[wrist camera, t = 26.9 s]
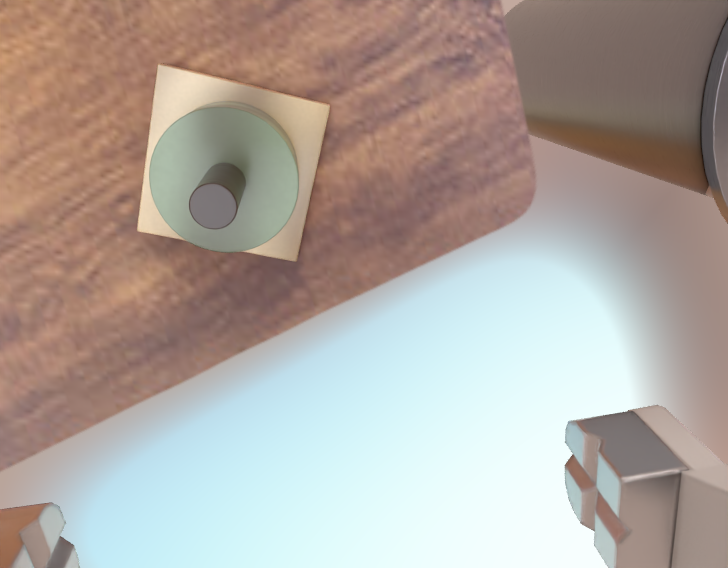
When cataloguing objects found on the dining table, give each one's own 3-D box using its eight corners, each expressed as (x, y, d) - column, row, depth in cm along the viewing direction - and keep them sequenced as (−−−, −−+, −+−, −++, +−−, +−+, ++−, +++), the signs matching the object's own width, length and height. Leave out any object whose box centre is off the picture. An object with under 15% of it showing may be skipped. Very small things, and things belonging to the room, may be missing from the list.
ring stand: (328, 103, 38) (343, 123, 27) (296, 255, 41) (298, 322, 31) (162, 63, 36) (111, 67, 26) (142, 224, 39) (89, 286, 29)
